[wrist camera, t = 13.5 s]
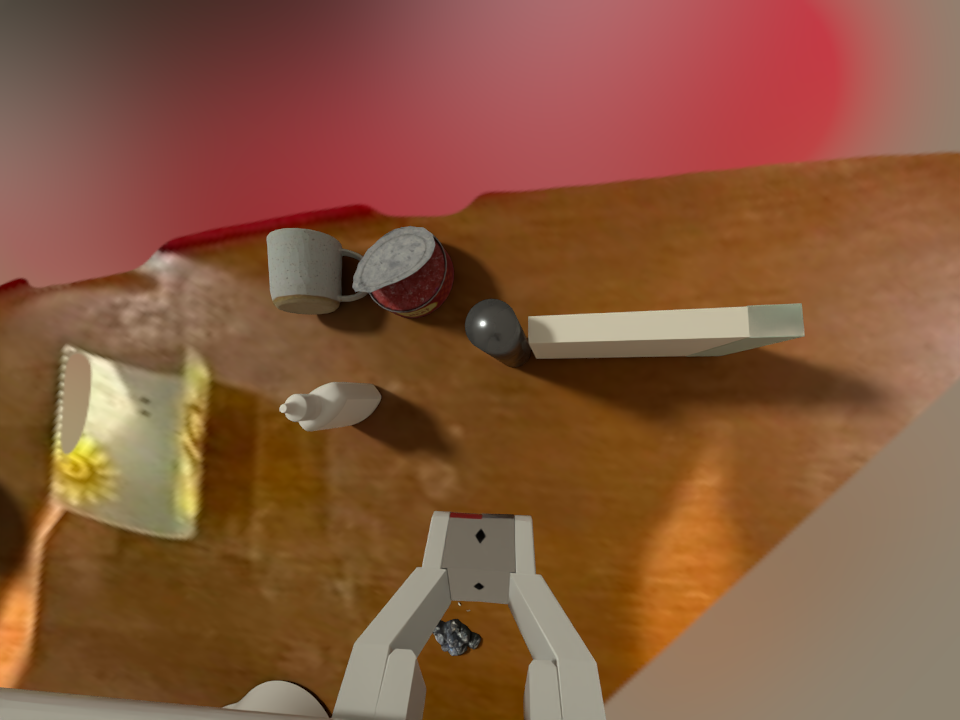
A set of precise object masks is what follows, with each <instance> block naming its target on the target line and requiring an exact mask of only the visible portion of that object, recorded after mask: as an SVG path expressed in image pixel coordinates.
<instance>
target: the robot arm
mask: <svg viewBox="0 0 960 720" xmlns="http://www.w3.org/2000/svg"><path fill="white" fill-rule="evenodd" d="M451 600H456V601H481V602H491V603H501V604H508V606H509V608H510V610H511V613H512V615H513V617H514V619H515V621H516V623H517V625H518V627H519V630H520V632H521V634H522V636H523V638H524V640H525V642H526V645H527V647H528V649H529V651H530V653H531V655H532V657H533V659H534V660H533V661H532V662H531V664H530V665H529V669H528V674H527V680H526V686H525V692H524V720H606V717H605V711H604V705H603V699H602V693H601V687H600V681H599V676H598V670H597V664H596V662H595V660H594V658H593V657H592V655H591V654H590V652H589V650H588V649H587V647H586V646H585V644H584V642H583V641H582V639H581V638H580V636H579V634H578V633H577V631H576V630H575V628H574V627H573V625H572V623H571V622H570V620H569V619H568V617H567V615H566V614H565V612H564V611H563V609H562V607H561V606H560V604H559V603H558V601H557V600H556V598H555V596H554V595H553V593H552V592H551V590H550V588H549V587H548V585H547V584H546V582H545V580H544V579H543V577H542V576H541V575H538V574H536V569H535V554H534V540H533V525H532V518H531V516H527V515H515V516H514V515H511V514H476V513H456V512H441V511H434V513H433V516H432V520H431V525H430V530H429V535H428V540H427V545H426V550H425V555H424V559H423V564H422V567H417V568H416V569H415V570H414V571H413V573H412V574H411V575H410V576H409V578H408V579H407V580H406V581H405V582H404V584H403V585H402V586H401V587H400V588H399V590H398V591H397V592H396V593H395V595H394V596H393V597H392V598H391V599H390V601H389V602H388V603H387V604H386V605H385V607H384V608H383V609H382V610H381V612H380V613H379V614H378V615H377V616H376V618H375V619H374V620H373V621H372V622H371V624H370V625H369V626H368V627H367V629H366V630H365V631H364V632H363V633H362V635H361V636H360V637H359V638H358V639H357V641H356V642H355V643H354V646H353V650H352V653H351V656H350V659H349V663H348V666H347V669H346V672H345V675H344V679H343V682H342V685H341V688H340V692H339V695H338V698H337V701H336V705H335V708H334V711H333V714H332V718H329V717H328V715H327V713H326V712H325V710H324V709H323V707H322V706H321V705H320V703H319V702H318V701H317V700H316V699H315V698H314V697H313V696H312V695H311V694H310V693H308V692H307V691H306V690H304V689H303V688H301V687H299V686H297V685H295V684H292V683H290V682H285V681H269V682H265V683H262V684H260V685H258V686H257V687H255V688H253V689H252V690H251V691H250V692H249V693H248V694H247V695H246V696H245V697H244V698H243V699H242V700H240V701H239V702H238V703H235V704H231V705H228V706H225V707H223V708H217V707H206V706H195V705H184V704H174V703H163V702H152V701H141V700H131V699H120V698H109V697H98V696H87V695H77V694H66V693H55V692H44V691H33V690H23V689H12V688H1V687H0V720H422V717H423V709H424V702H425V695H426V687H425V684H424V680H423V677H422V674H421V671H420V668H419V664H418V661H417V657H418V655H419V653H420V652H421V650H422V649H423V647H424V645H425V644H426V642H427V641H428V639H429V637H430V636H431V634H432V632H433V631H434V629H435V628H436V626H437V624H438V623H439V621H440V620H441V618H442V616H443V615H444V613H445V611H446V610H447V608H448V607H449V605H450V603H451Z"/></svg>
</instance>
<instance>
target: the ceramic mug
mask: <svg viewBox="0 0 960 720" xmlns="http://www.w3.org/2000/svg"><path fill="white" fill-rule="evenodd" d="M267 247H268V265H269V278H270V293H271V297H272V300H273V303H274V305H275V306H276V307H277V308H279V309H280V310H283V311H286V312H290V313H297V314H325V313H330V312H333V311H335V310H336V309H337V308H338V307H339V304H340V302H341V301H346V302H349V301H354V300H358V299H361V298H363V297H364V296H366V295H367V294H368V292H359V293H356V294H355V295H348V296H342V287H341V274H342V256H349V257H352V258H355V259H357V260H360V261H361V259H362V258H363V256H361V255H360V254H358V253H355V252H353V251H350V250H346V249H342V246H341V244H340V242H339V241H338V240H336V239H335V238H333V237H331V236H329V235H327V234H324V233H321V232H318V231H314V230H308V229H299V228H286V229H278V230H275V231H273V232H271V233H270V234H269V235H268V236H267Z"/></svg>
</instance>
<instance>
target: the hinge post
mask: <svg viewBox="0 0 960 720" xmlns="http://www.w3.org/2000/svg"><path fill="white" fill-rule="evenodd" d="M465 330H466V334H467V337H468V338H469V340H470V341H471V343H472V344H473V345H475V346H476V347H478V348H479V349H481V350H482V351H484V352H486V353H487V354H489V355H491V356H492V357H494V358H495V359H497V360H499V361H500V362H502V363H503V364H505V365H507V366H509V367H519V366H522V365H523V364H525V363H526V362H527V361H528V359H529V357H530V354H531V347H530V345H529V342H528V340H527V338H526V336H525V334H524V332H523V330H522V327H521V325H520V323H519V321H518V319H517V317H516V315H515V313H514V311H513V310H512V308H511V307H510V306H509V305H508V304H506V303H505V302H503V301H501V300H497V299H487V300H483V301H481V302H479V303H477V304H476V305H475V306H473V307H472V308H471V310H470V311H469V313H468V315H467V317H466V321H465Z"/></svg>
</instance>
